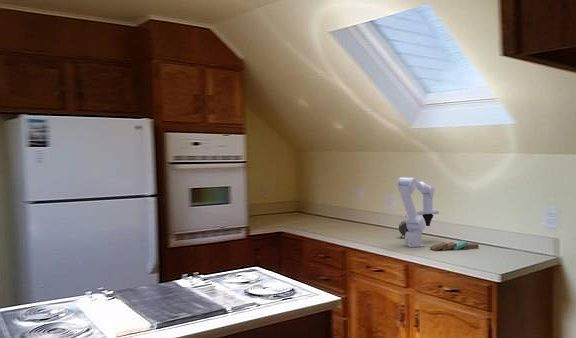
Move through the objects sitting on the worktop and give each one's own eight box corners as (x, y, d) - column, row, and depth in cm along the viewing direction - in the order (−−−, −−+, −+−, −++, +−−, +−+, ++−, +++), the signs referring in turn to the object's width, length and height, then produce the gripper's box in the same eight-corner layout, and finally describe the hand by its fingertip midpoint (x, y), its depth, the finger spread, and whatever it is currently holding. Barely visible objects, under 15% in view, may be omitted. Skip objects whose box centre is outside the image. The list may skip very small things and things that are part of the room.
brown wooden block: (433, 248, 291) (447, 243, 293) (429, 246, 296) (443, 241, 297) (434, 251, 291) (448, 246, 293) (430, 249, 296) (443, 244, 298)
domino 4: (465, 248, 295) (478, 247, 297) (460, 246, 300) (473, 245, 302) (465, 250, 295) (478, 249, 297) (460, 249, 300) (473, 248, 302)
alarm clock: (414, 237, 335) (414, 213, 334) (416, 238, 329) (417, 214, 328) (398, 237, 335) (398, 213, 334) (400, 239, 329) (400, 214, 328)
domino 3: (464, 245, 295) (478, 244, 297) (460, 243, 300) (473, 243, 302) (464, 248, 295) (478, 247, 297) (460, 246, 300) (473, 245, 302)
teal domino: (454, 247, 293) (467, 241, 295) (449, 246, 298) (462, 240, 300) (455, 250, 293) (468, 244, 295) (450, 248, 298) (463, 242, 300)
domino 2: (442, 248, 292) (456, 243, 294) (438, 246, 297) (451, 241, 298) (443, 250, 292) (456, 246, 294) (439, 249, 297) (452, 244, 299)
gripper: (420, 205, 311) (420, 227, 312) (441, 204, 315) (441, 226, 315) (414, 204, 318) (415, 225, 318) (435, 203, 321) (435, 224, 322)
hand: (427, 225), depth 317 cm, fingers closed
